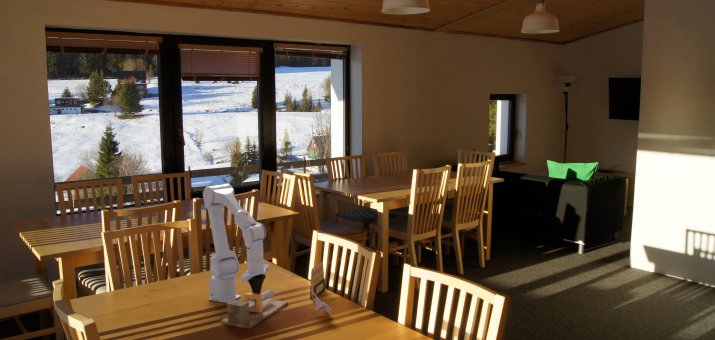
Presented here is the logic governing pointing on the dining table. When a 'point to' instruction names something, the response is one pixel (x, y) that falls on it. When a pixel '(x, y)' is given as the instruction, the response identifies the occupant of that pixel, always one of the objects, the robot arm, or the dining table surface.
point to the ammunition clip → (317, 281)
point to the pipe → (264, 297)
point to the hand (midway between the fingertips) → (256, 295)
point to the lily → (320, 305)
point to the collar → (258, 298)
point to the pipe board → (250, 313)
